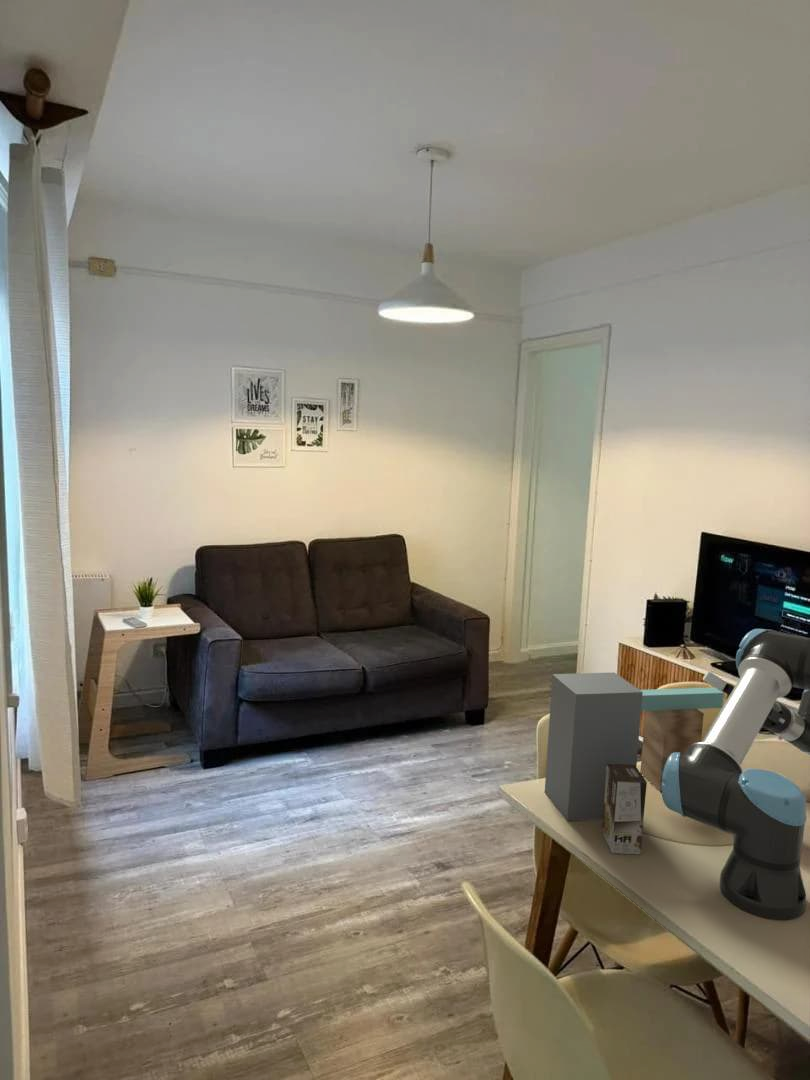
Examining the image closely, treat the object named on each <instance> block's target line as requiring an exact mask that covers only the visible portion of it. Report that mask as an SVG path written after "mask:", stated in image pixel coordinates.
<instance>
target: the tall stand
mask: <svg viewBox="0 0 810 1080" xmlns="http://www.w3.org/2000/svg"><path fill="white" fill-rule="evenodd" d="M640 690H641V689H639V688H637V686H635V685H633V684H632V683H631V682H628V680H626V679H625V678H623V677H621V676H620V675H618V674H617V673H616V672H589V673H588V672H586V673H585V672H584V673H583V672H582V673H553V674H552V676H551V689H550V691H551V692H550V703H549V704H550V706H549V720H548V735H547V752H546V765H545V767H546V768H545V782H544V793H545V795H546V796H547V797H548V799H549V800H550V801H551V802H552V804H553V805H554V806H555V808H556V809H557V810H558V811H559V813H560V814H561V815H562V816H563V818H564V819H565V821H566V822H575V821H585V820H586V821H588V820H603V812H604V797H605V782H606V769H607V764H631V765H635V766H636V767H637V766H638V765H637V763H638V753H639V743H640V742H639V741H640V730H641V729H640V727H641V718H642V717H641V716H642V711H641V707H642V695H643V692H642V691H640Z"/></svg>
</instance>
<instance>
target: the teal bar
mask: <svg viewBox="0 0 810 1080" xmlns="http://www.w3.org/2000/svg"><path fill="white" fill-rule="evenodd" d="M639 690H640V691H642V692H643V695H642V707H641V712H645V711H659V710H684V709H698V710H706V709H722V707H723V705H724V696H725V695H724V694H725V692H723V691H720V690H719V689H717V688H716V687H714V686H713V687H694V688H693V687H690V688H661V689H658V688H657V689H656V688H655V689H639Z"/></svg>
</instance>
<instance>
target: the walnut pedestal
mask: <svg viewBox="0 0 810 1080" xmlns="http://www.w3.org/2000/svg"><path fill="white" fill-rule="evenodd" d="M644 712H645V713H644V723H643V736H642V737H643V738H642V749H641V757H640V758H641V760H640V769H639V772H640V773H641V775H643V776H644V777H645V778H646V779H647V780H648V781H649V782H651V783H652V784H653V785H654V786H655V787H656V788H657V789H658V790H659V791H662V789H661V785H662V776H663V771H664V767H665V764H666V761H667V759H668V757H669V756H670V755H671V754H672V753H675V752H677V753H678V752H680V753H681V754H683V755H684V754H685V753H686V751H687V750H688V748H689V747H690V746H691V745H692V744H694V743H698V742H702V735H703V727H704V726H703V725H704V716H705V715H704V712H702V711H701V710H700V709H684V710H659V711H644ZM644 777H643V778H644ZM645 778H644V779H645ZM646 779H645V780H646ZM647 780H646V781H647ZM648 781H647V782H648ZM649 782H648V783H649ZM652 784H651V785H652ZM653 785H652V786H653ZM654 786H653V787H654ZM655 787H654V788H655ZM656 788H655V789H656ZM657 789H656V790H657ZM658 790H657V791H658ZM659 791H658V792H659Z"/></svg>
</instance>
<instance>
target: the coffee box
mask: <svg viewBox="0 0 810 1080" xmlns="http://www.w3.org/2000/svg"><path fill="white" fill-rule="evenodd" d="M647 784H648V781H647V780H646V779H645V778H644V777H643V776H642V775H641V773H640V769H638V768H637V766H635V765H631V764H607V769H606V782H605V797H604V812H603V819H602V828H601V833H602V835H603V837H604V840H605V841H606V844H607V845H608V848H609V850H610V852H611V853H612V854H623V855H624V854H625V855H638V856H639V855H641V852H642V851H641V850H642V840H643V831H644V829H643V827H644V816H645V807H646V806H645V805H646V796H647Z"/></svg>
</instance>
